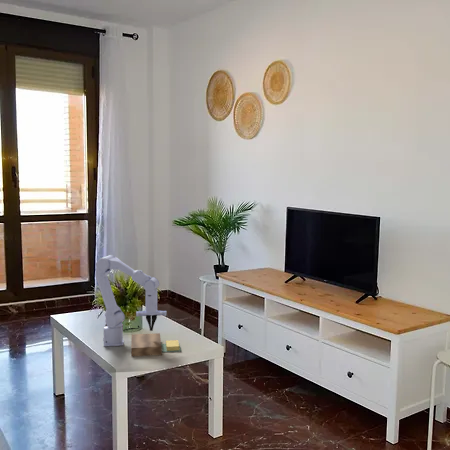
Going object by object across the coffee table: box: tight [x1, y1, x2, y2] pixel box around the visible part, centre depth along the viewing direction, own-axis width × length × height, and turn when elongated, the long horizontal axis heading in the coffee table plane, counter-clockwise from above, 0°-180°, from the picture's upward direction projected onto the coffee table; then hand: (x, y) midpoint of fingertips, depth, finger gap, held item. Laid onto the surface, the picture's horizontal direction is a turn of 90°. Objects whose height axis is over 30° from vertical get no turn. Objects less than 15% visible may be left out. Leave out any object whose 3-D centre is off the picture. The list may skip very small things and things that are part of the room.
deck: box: [130, 332, 163, 357], centre depth 248 cm, size 14×20×4 cm
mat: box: [161, 343, 182, 353], centre depth 249 cm, size 9×11×1 cm
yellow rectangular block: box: [165, 339, 179, 351], centre depth 249 cm, size 6×9×2 cm, turn 9°
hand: (151, 330), depth 249 cm, fingers closed
